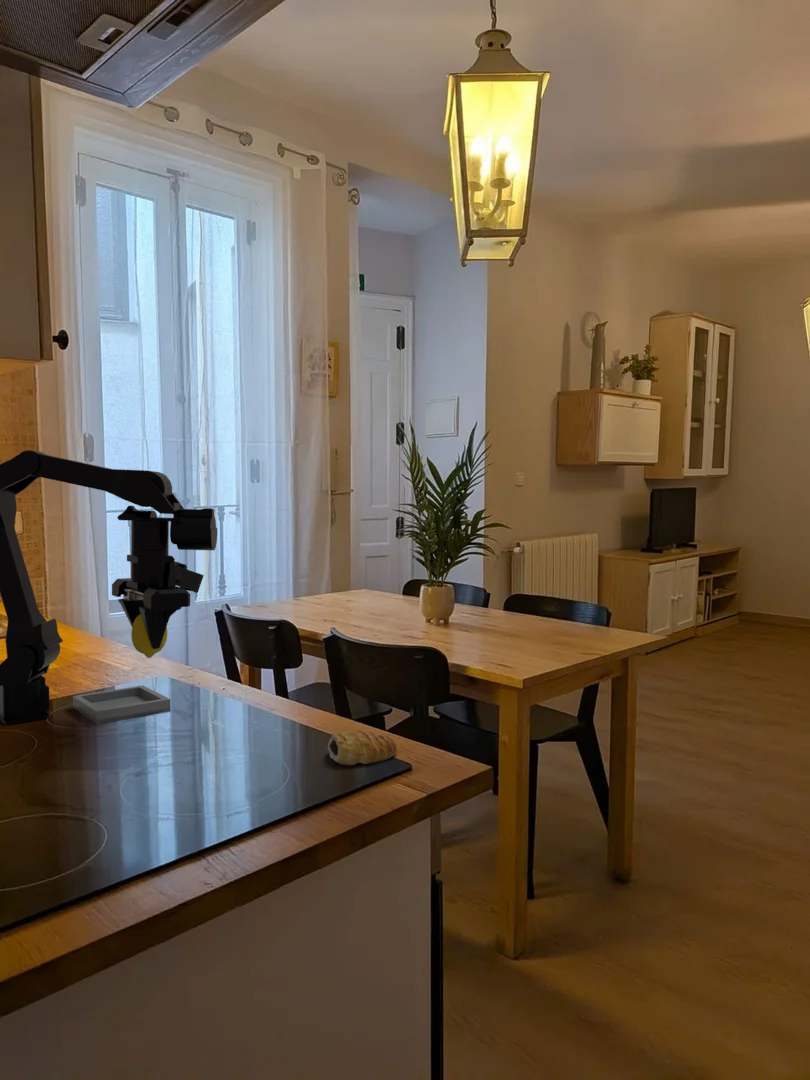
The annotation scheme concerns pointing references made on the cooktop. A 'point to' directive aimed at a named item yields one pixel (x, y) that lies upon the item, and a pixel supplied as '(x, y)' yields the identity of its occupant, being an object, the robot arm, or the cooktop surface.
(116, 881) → the cooktop surface
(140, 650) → the lemon
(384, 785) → the cooktop surface
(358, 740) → the pastry
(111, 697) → the dish
